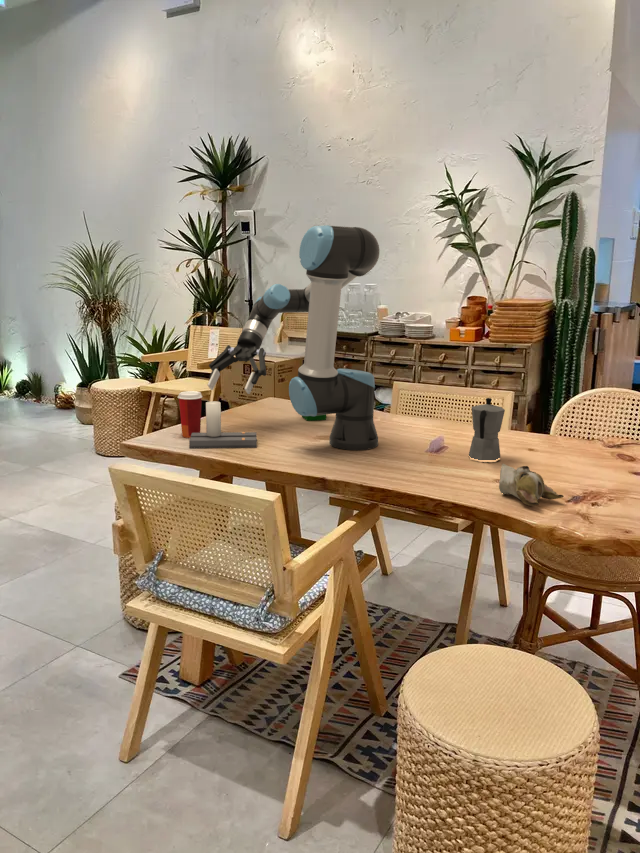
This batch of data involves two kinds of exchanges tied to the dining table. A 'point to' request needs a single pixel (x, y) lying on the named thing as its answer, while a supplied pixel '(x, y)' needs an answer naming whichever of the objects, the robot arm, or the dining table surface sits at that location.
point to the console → (224, 440)
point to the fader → (213, 418)
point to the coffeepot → (486, 431)
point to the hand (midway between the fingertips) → (228, 389)
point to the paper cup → (190, 412)
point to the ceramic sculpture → (524, 485)
